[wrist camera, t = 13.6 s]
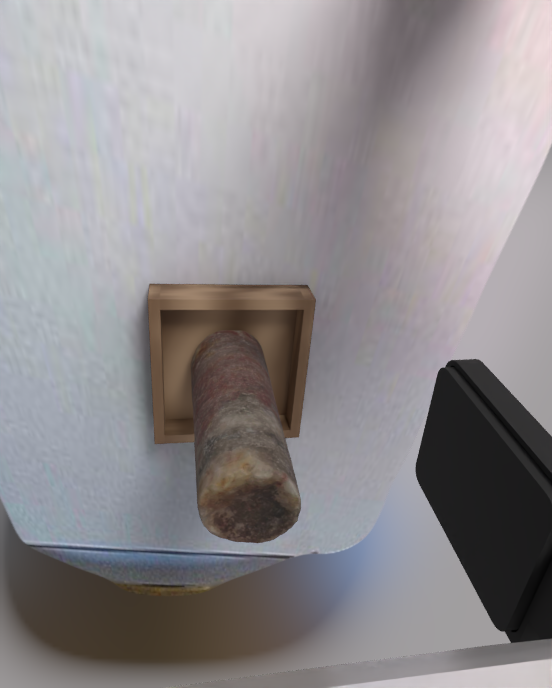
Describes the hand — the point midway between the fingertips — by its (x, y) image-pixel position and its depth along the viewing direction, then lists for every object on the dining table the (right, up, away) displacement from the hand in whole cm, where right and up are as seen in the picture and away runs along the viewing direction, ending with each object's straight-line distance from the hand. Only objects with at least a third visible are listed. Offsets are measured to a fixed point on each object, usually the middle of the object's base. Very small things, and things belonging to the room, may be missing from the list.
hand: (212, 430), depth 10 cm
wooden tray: (-4, 0, +42) cm, 42 cm away
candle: (-4, 0, +42) cm, 42 cm away
